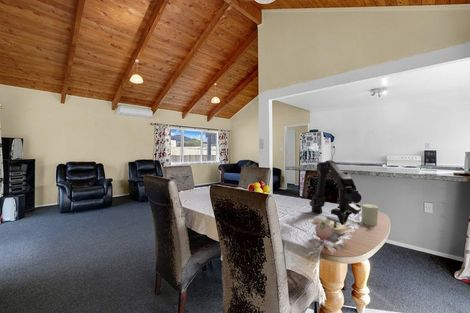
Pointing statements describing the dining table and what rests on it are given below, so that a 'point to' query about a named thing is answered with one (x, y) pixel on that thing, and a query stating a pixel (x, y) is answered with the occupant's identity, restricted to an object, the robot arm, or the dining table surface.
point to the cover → (321, 220)
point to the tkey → (335, 221)
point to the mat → (298, 228)
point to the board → (338, 229)
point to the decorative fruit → (323, 231)
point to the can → (369, 214)
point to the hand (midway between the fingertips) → (343, 224)
